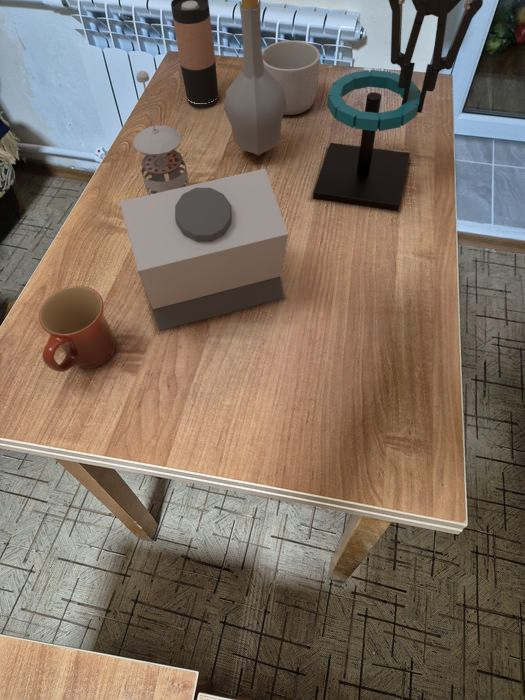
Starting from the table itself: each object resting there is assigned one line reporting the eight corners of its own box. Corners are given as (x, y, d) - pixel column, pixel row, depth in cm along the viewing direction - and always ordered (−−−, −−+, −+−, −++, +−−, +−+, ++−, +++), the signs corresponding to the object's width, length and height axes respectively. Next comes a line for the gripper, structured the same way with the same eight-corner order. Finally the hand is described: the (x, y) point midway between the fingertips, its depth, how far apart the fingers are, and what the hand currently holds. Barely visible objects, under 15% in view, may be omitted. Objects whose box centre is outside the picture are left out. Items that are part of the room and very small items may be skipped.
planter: (261, 121, 112) (259, 70, 103) (263, 90, 119) (261, 40, 110) (317, 120, 111) (320, 69, 102) (316, 89, 118) (319, 39, 109)
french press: (148, 226, 94) (109, 93, 73) (144, 186, 101) (107, 54, 80) (200, 217, 95) (177, 83, 74) (193, 179, 101) (169, 46, 81)
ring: (422, 86, 90) (424, 74, 88) (412, 135, 82) (415, 124, 80) (337, 77, 93) (338, 66, 91) (320, 125, 85) (321, 113, 83)
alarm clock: (258, 243, 91) (252, 139, 74) (287, 308, 82) (288, 208, 65) (144, 271, 88) (111, 170, 71) (162, 342, 79) (129, 246, 62)
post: (408, 159, 102) (427, 76, 89) (398, 211, 94) (417, 128, 80) (329, 148, 105) (336, 67, 92) (312, 198, 97) (317, 116, 83)
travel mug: (185, 93, 119) (168, -4, 103) (217, 88, 120) (206, -9, 103) (188, 111, 115) (171, 12, 99) (221, 106, 116) (211, 7, 99)
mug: (83, 323, 82) (60, 279, 73) (132, 336, 80) (114, 293, 71) (42, 384, 76) (11, 345, 67) (94, 400, 74) (69, 362, 65)
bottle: (277, 174, 101) (275, 5, 76) (223, 167, 103) (203, -1, 78) (290, 141, 107) (292, -26, 82) (239, 135, 109) (225, -31, 84)
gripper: (510, -74, 67) (459, 100, 86) (394, -80, 70) (370, 90, 89) (509, -52, 63) (456, 125, 82) (386, -59, 66) (363, 114, 85)
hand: (411, 107), depth 86 cm, fingers closed on ring, 2 cm apart
